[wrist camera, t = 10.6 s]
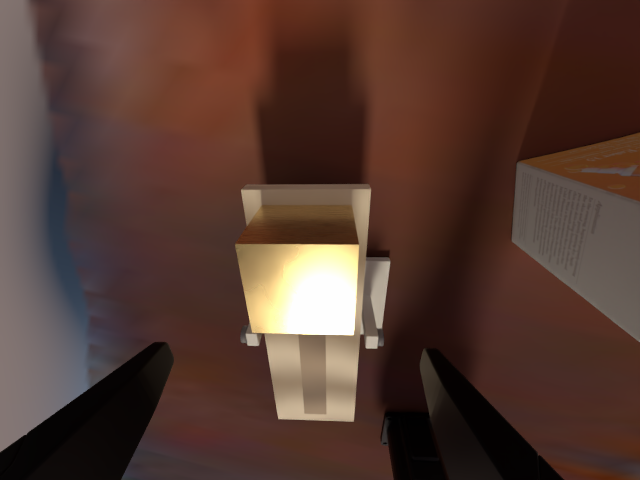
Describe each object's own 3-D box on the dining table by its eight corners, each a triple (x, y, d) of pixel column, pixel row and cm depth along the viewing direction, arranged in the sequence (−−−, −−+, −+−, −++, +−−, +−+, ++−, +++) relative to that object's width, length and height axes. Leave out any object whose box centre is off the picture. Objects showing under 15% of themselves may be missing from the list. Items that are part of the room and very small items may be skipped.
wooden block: (348, 279, 17) (353, 335, 13) (271, 278, 17) (252, 332, 13) (351, 205, 14) (359, 244, 10) (261, 205, 15) (234, 243, 11)
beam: (352, 410, 25) (353, 421, 24) (280, 407, 25) (278, 418, 24) (368, 184, 15) (371, 189, 14) (246, 184, 15) (241, 189, 14)
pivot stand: (379, 329, 25) (390, 380, 20) (254, 327, 25) (237, 376, 21) (388, 257, 21) (404, 300, 17) (241, 256, 22) (217, 297, 17)
